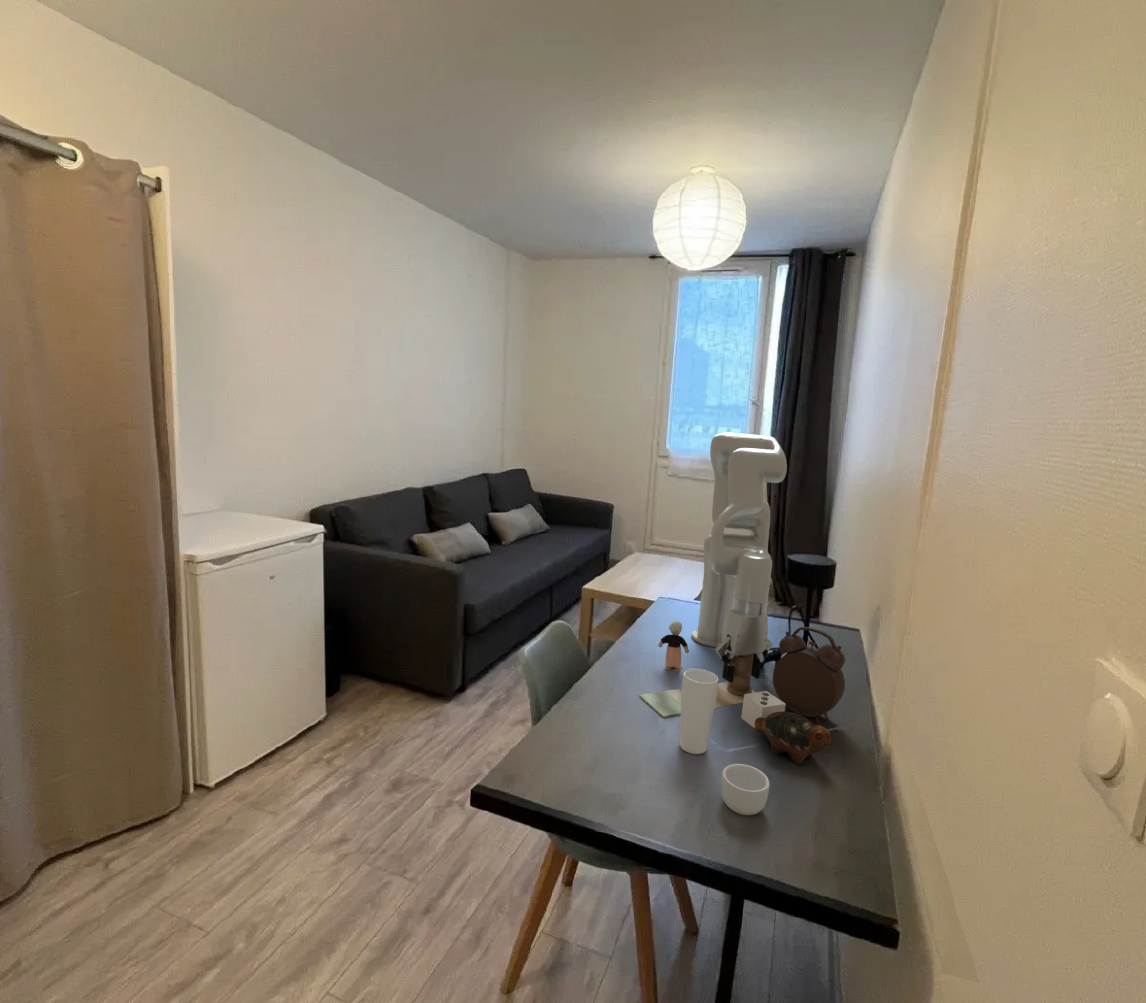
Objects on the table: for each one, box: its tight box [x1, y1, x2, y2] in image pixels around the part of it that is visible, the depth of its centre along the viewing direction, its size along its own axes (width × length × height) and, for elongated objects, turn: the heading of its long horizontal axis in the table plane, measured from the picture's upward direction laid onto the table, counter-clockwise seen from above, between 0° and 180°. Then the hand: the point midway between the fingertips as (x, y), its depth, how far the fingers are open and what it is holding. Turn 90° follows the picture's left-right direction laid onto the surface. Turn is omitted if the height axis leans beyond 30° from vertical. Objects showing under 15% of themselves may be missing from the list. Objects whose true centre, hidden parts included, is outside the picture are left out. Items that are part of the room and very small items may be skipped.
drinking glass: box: [678, 668, 719, 755], centre depth 120 cm, size 7×7×15 cm
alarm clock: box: [772, 626, 846, 724], centre depth 138 cm, size 14×7×20 cm, turn 47°
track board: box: [638, 681, 757, 719], centre depth 143 cm, size 28×10×1 cm, turn 115°
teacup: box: [721, 763, 771, 816], centre depth 105 cm, size 10×8×5 cm
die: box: [741, 690, 786, 729], centre depth 132 cm, size 6×6×6 cm
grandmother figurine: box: [657, 620, 690, 672], centre depth 157 cm, size 8×4×13 cm, turn 84°
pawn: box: [727, 654, 753, 697], centre depth 146 cm, size 6×6×12 cm
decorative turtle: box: [754, 711, 832, 765], centre depth 122 cm, size 10×15×8 cm, turn 50°
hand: (740, 677), depth 147 cm, fingers open, 7 cm apart
